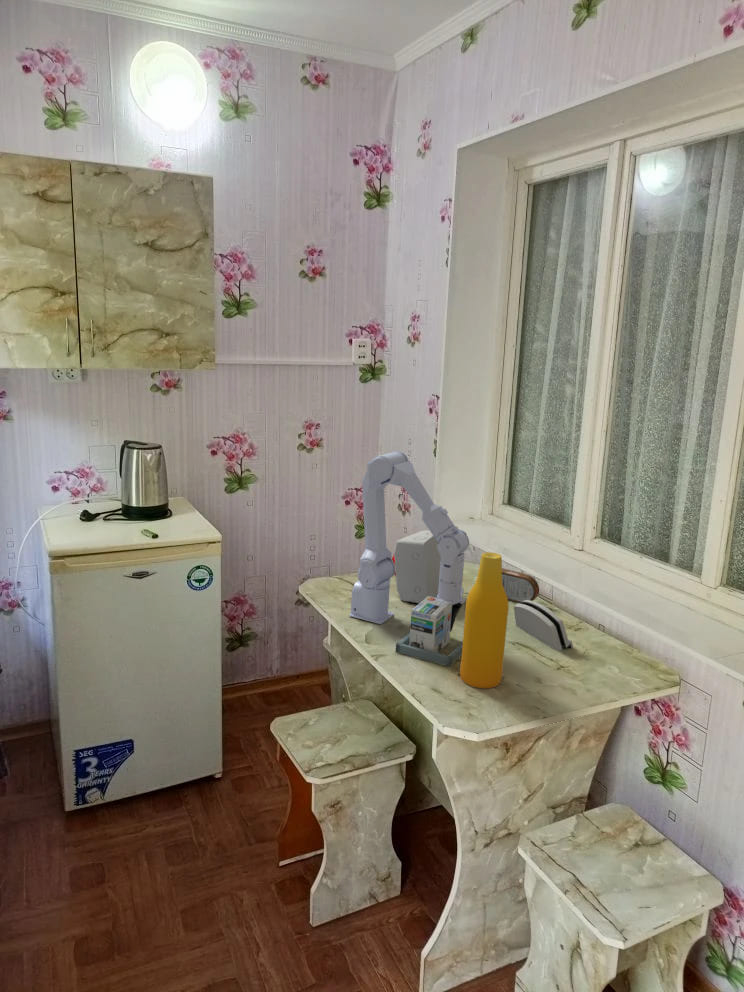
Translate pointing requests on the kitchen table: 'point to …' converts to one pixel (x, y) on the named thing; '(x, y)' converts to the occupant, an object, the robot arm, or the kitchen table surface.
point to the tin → (519, 586)
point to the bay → (427, 652)
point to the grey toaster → (541, 624)
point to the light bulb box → (430, 625)
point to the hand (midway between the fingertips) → (446, 630)
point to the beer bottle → (485, 626)
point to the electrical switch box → (417, 566)
